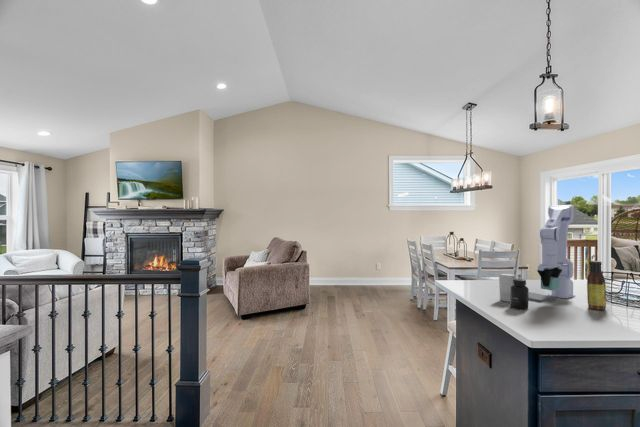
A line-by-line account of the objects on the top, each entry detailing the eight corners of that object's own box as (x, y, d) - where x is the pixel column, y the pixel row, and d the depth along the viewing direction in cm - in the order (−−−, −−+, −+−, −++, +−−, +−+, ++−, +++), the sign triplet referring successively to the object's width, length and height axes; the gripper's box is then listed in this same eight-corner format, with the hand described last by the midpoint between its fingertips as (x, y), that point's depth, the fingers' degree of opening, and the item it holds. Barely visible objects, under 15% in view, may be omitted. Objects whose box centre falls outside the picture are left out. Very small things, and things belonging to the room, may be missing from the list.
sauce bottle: (609, 311, 150) (609, 262, 150) (592, 310, 151) (592, 262, 151) (600, 307, 156) (600, 260, 156) (584, 306, 158) (583, 260, 158)
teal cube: (547, 287, 165) (547, 276, 165) (558, 289, 160) (558, 277, 160) (540, 288, 162) (540, 277, 162) (552, 290, 158) (552, 278, 158)
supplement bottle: (510, 308, 155) (510, 280, 155) (510, 305, 161) (510, 277, 161) (528, 310, 151) (528, 281, 151) (528, 306, 157) (528, 279, 157)
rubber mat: (530, 294, 181) (530, 292, 181) (555, 299, 171) (555, 297, 171) (515, 297, 176) (515, 294, 176) (540, 302, 165) (540, 300, 165)
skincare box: (517, 301, 167) (517, 274, 167) (512, 302, 164) (512, 275, 164) (503, 298, 172) (503, 273, 172) (498, 300, 169) (498, 274, 169)
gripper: (549, 252, 168) (549, 282, 168) (530, 254, 161) (531, 285, 161) (565, 254, 162) (566, 284, 162) (547, 256, 155) (547, 288, 155)
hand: (549, 285), depth 161 cm, fingers closed on teal cube, 5 cm apart
